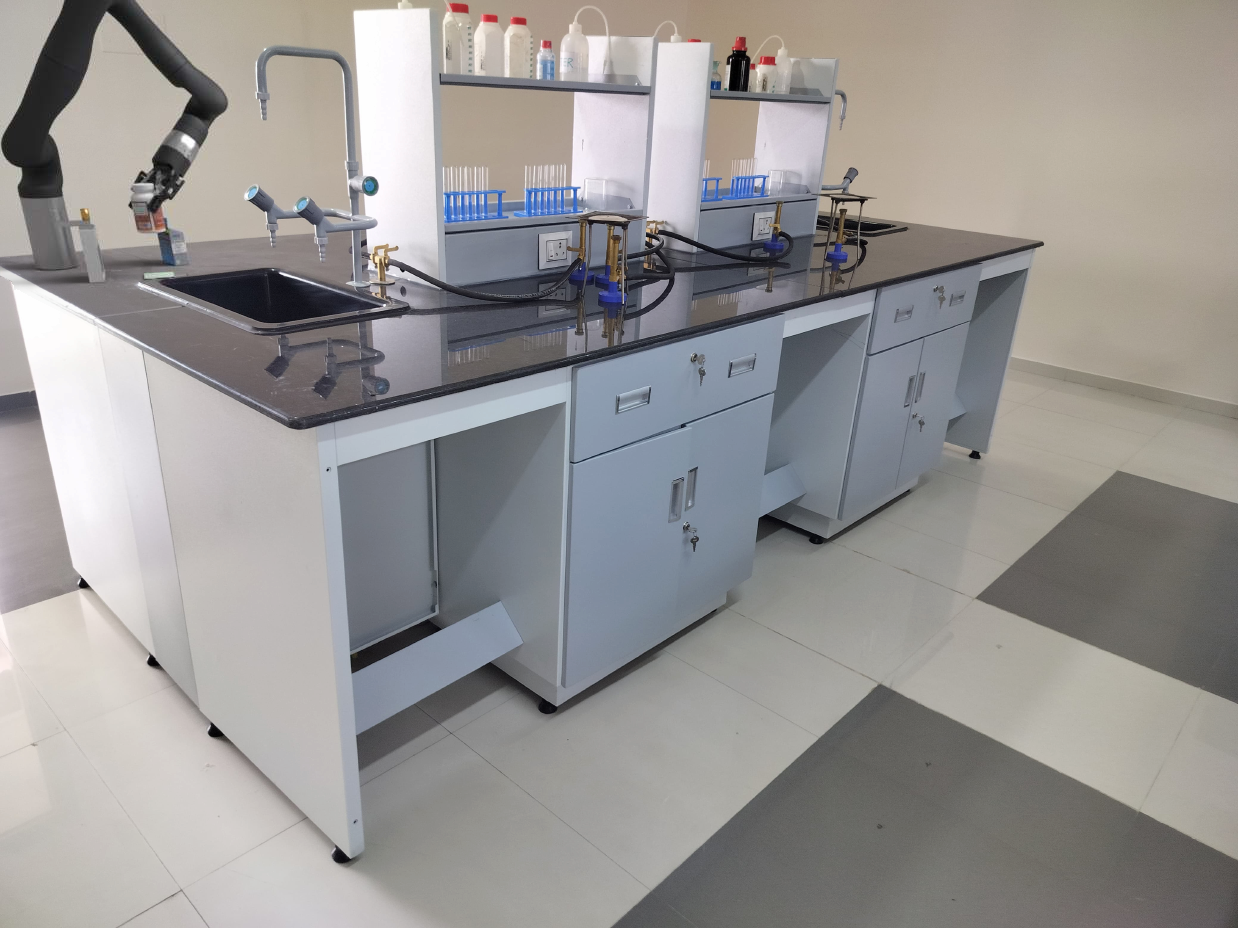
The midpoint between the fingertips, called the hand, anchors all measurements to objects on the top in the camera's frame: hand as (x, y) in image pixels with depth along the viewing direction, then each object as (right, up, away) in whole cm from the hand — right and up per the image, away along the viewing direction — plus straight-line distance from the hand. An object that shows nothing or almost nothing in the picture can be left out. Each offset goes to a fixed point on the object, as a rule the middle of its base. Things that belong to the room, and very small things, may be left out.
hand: (141, 210), depth 204 cm
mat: (0, -14, +8) cm, 16 cm away
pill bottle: (+1, -4, +4) cm, 6 cm away
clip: (-13, -5, -4) cm, 15 cm away
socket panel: (-12, -16, +3) cm, 20 cm away
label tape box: (-4, -7, +24) cm, 26 cm away
